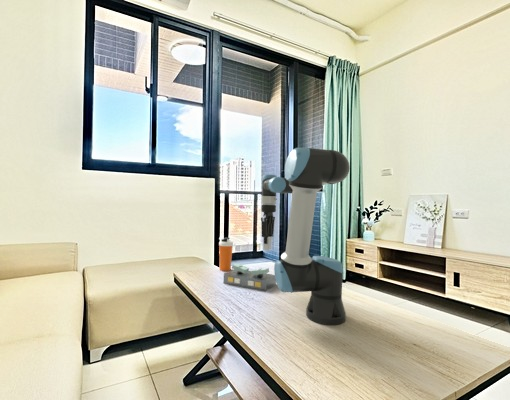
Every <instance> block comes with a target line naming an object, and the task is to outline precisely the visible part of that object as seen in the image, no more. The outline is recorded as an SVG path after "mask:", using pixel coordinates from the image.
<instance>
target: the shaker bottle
mask: <svg viewBox="0 0 510 400" xmlns="http://www.w3.org/2000/svg"><path fill="white" fill-rule="evenodd" d="M218 246H219V247H218V248H219V249H218V250H219V251H218V252H219V254H218V256H219V270H220V271H222V272H229V271H232V259H233V257H232V256H233V246H234V242H233V241H232V240H231V238H230V237H223V238H221V240H220V241H219V242H218Z"/></svg>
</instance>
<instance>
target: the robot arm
mask: <svg viewBox="0 0 510 400" xmlns="http://www.w3.org/2000/svg"><path fill="white" fill-rule="evenodd" d="M349 172H350V162H349V159H348V158H347V157H346V155H345V154H343V153H342V152H340V151H338V150H334V149H325V148H311V147H295V148H293V149H292V150H291V151H290V153H289V154H288V156H287V158H286V161H285V166H284V177H280V176H277V175H276V174H264V175H262V180H261V182H262V183H261V209H260V210H261V211H260V212H262V213H263V217H260V221H261V237H262V238H263V246H262V249H263V251H269V250H272V237H273V238H274V232H275V229H274V228H275V220H276V217H275V216H274V213H276V211H277V206H276V204H277V200H278V199H277V194H291V202H290V209H289V210H290V211H289V219H288V227H287V228H288V229H287V235H286V236H287V237H286V246H285V251H283V252H282V253H281V255H280V260H276V261H275V263H274V266H273V267H274V268H273V270H274V275H275V279H276V285H277V288H278V290H279V291H281V292H283V293H291V294H292V293H302V292H303V293H304V292H311V293H310V297H309V300H308V303H307V305H306V308H305V309H306V310H305V315H306V317H307V318H308V319H309V320H310V321H313V322H315V323H317V324H321V325H327V326H329V325H330V326H331V325H332V326H334V325H335V326H337V325H341V324H344V323H345V322H346V321H347V319H346V318H347V313H346V309H345V306H344V303H343V299H342V295H343V275H344V271H343V270H344V269H343V263H342V261H340V260H338V259H336V258H333V257H328V256H323V255H313V256H312V257H311V256H310V255H309V253H310V246H311V238H312V231H313V224H314V217H315V209H316V202H317V194H318V192H320V191H321V190H322V189H323V186H326V185H327V184H328V185H335V184H338V183H341V182H343V181H344V180H345V179H346V178H347V177H348V176H349Z"/></svg>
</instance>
